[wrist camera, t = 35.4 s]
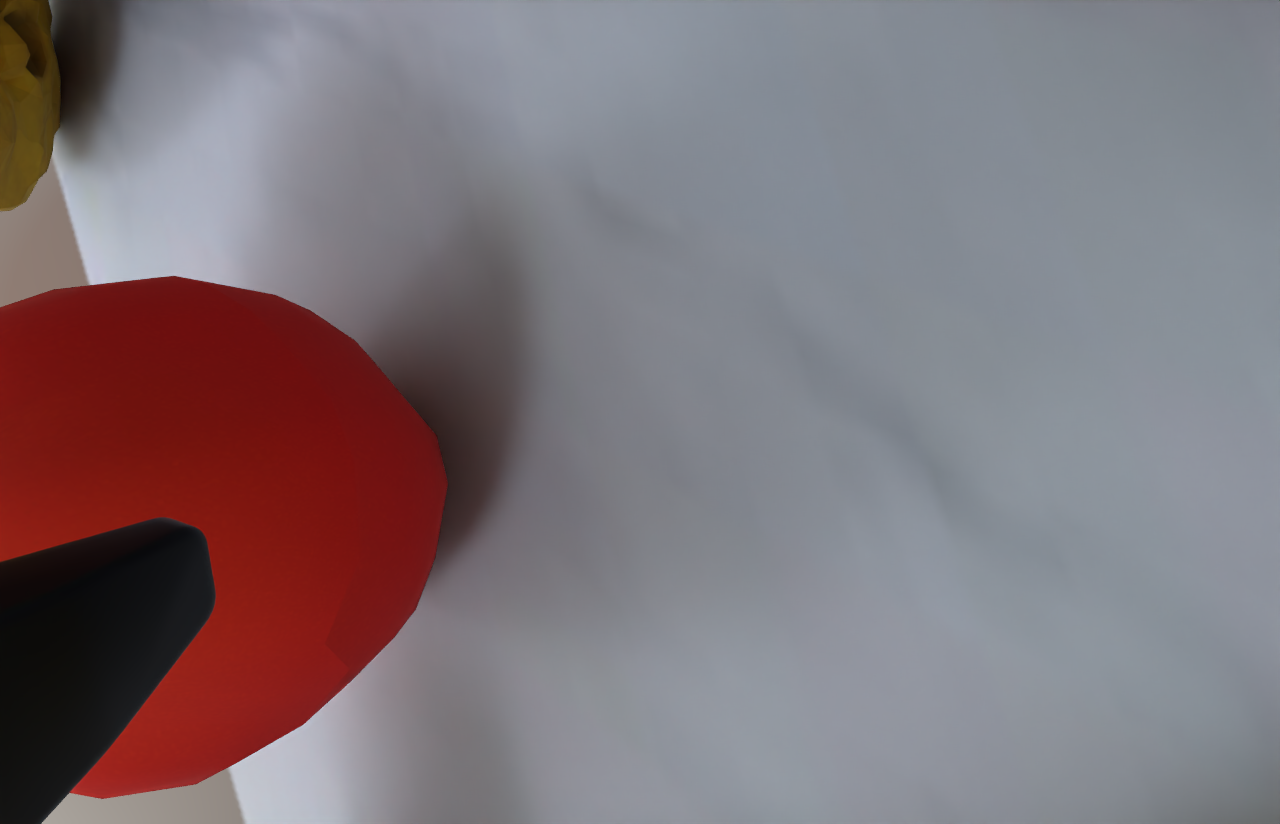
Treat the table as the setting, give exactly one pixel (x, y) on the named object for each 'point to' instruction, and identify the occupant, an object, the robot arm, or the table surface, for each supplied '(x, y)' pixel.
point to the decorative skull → (26, 97)
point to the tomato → (222, 496)
